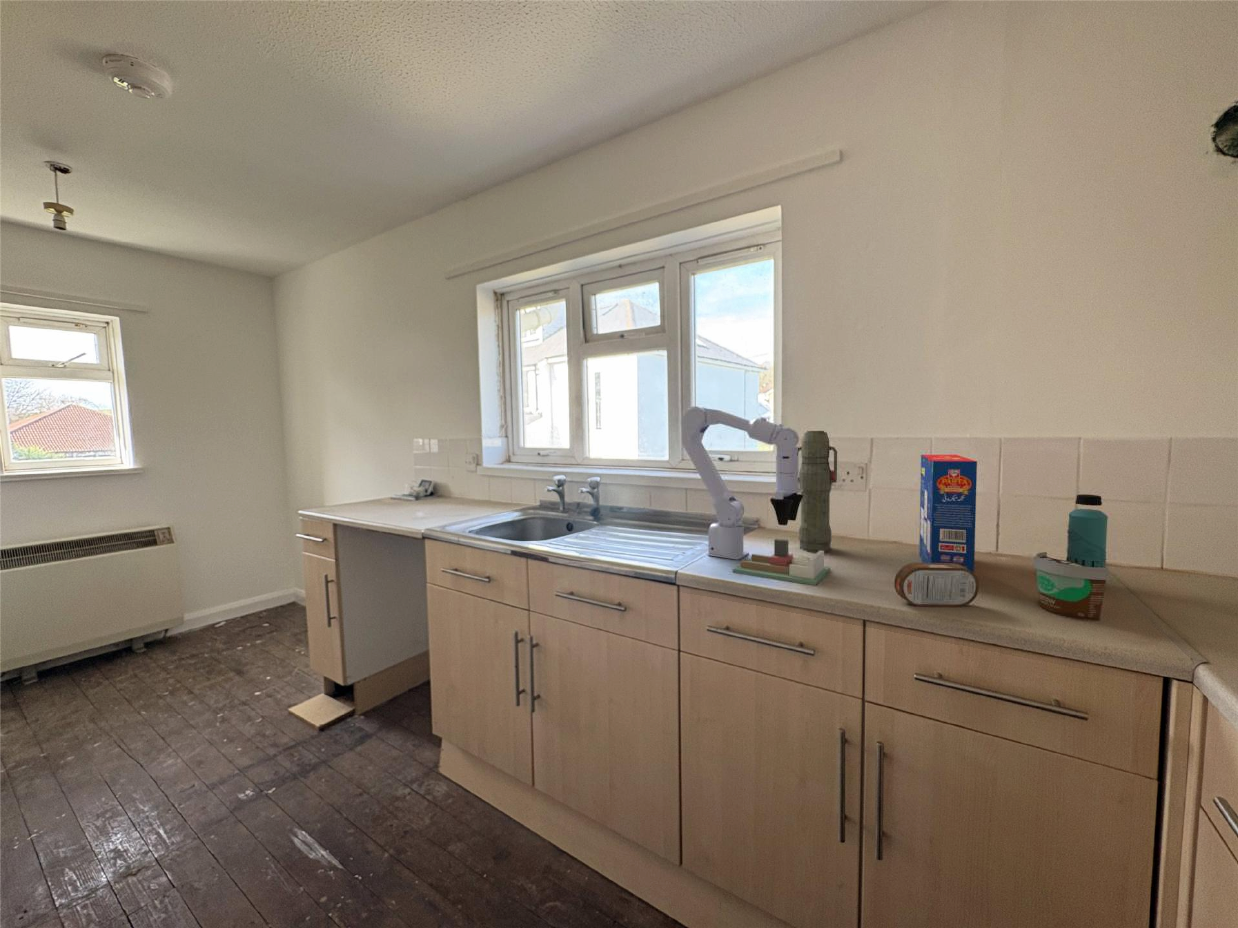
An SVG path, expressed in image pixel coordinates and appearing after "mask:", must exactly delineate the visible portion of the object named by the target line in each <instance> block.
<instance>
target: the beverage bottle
mask: <svg viewBox="0 0 1238 928" xmlns="http://www.w3.org/2000/svg"><path fill="white" fill-rule="evenodd" d="M1075 498H1076V499H1075V504H1076V505H1081V506H1094V507H1095V506H1097V507H1099V506H1100V507H1101V506H1102V505H1103V502H1102V496H1101V495H1097V494H1085V493H1083V494H1082V493H1081V494H1077V495H1076V497H1075ZM1108 519H1109V515H1107V514H1105V513H1104V512H1103V511H1102V510H1098V509H1093V508H1092V509H1091V508H1076V509H1075V508H1074V509H1073V510H1072V511H1070V512H1069V513H1068V523H1067V527H1068V529H1067V530H1066V531H1067V532H1066V534H1067V535H1066V536H1067V537H1066V538H1067V547H1066V550H1065V551H1066V557H1065V558H1066V559H1065V561H1071V562H1076V563H1079V564H1081V565H1083V566H1086V567H1097V568H1107V566H1106V565H1107V538H1108V537H1107V533H1108Z"/></svg>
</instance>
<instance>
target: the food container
mask: <svg viewBox="0 0 1238 928" xmlns="http://www.w3.org/2000/svg"><path fill="white" fill-rule="evenodd" d="M1047 552H1048V551H1044V552H1043V551H1042V552H1038V553H1036V555H1035V556H1034V558H1033V560H1032V563H1031V565H1032V567H1033V568H1035V569H1036V579H1037V593H1038V605H1039V608H1040V609H1041V610H1043V611H1045V612H1047V613H1050V614H1052V615H1057V616H1060V617H1063V618H1067V619H1068V618H1069V619H1075V620H1081V621H1100V619H1101V614H1102V607H1103V601H1104V594H1105V590H1106V589H1105V588H1106V583H1107V581H1108V580H1109V581H1110V580H1111V576H1110V575H1111V574H1110V571H1109V570H1108V567H1105V568H1097V567H1086V566H1083V565H1081V564H1079V563H1076V562H1071V561H1066V560H1062V559H1057V558H1054V557H1050V556H1048V554H1047Z"/></svg>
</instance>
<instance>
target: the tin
mask: <svg viewBox="0 0 1238 928" xmlns="http://www.w3.org/2000/svg"><path fill="white" fill-rule="evenodd" d="M893 582H894V583H893V585H894V590H895V592H896V594H897V595H898V596H899V598H901V599H903V600H904V601H906V602H907V603H909V604H911V605H912V606H915V607H916V606H917V607H937V608H938V607H939V608H941V607H948V608H960V607H966V606H967V605H970V604H971V603H972V602H973V601H974V600H975V599H976V598H977V596H978V593H979V590H980V582H979V578H978V577H977V576H976V575H975V572H974V573H973V572H971V571H970V570H968V569H967V568H966V567H964V566H962V565H960V564H955V563H923V562H912V563H908V564H906V565H904V566H903V567H901V568H900V569H899V570H898V571H897V573H896V575H895V577H894V581H893Z"/></svg>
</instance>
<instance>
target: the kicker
mask: <svg viewBox="0 0 1238 928" xmlns="http://www.w3.org/2000/svg"><path fill="white" fill-rule="evenodd" d="M773 545H774V547H773V550H774V551H773V552H774V553H773V554H772V555H771V557H770V564H771V565H778V566H785V567H789V565H790V564H792V559H793V557H794V555H793V553H789V539H782V538H775V539H774V543H773Z"/></svg>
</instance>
